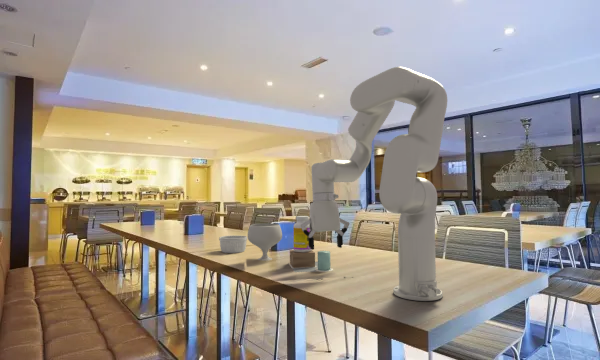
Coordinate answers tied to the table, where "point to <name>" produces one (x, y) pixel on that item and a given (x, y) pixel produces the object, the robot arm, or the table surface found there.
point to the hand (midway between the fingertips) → (326, 248)
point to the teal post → (324, 261)
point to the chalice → (264, 237)
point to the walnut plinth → (302, 259)
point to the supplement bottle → (301, 235)
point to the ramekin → (233, 244)
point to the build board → (308, 268)
